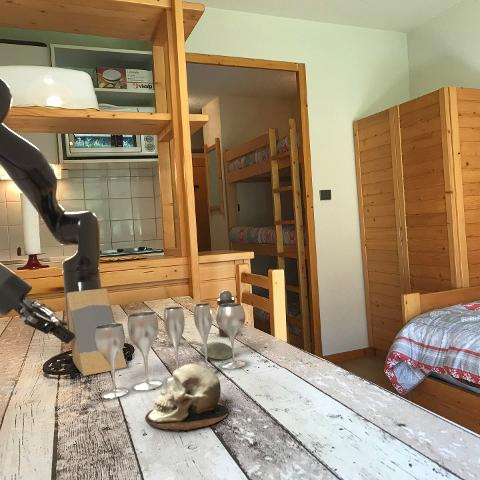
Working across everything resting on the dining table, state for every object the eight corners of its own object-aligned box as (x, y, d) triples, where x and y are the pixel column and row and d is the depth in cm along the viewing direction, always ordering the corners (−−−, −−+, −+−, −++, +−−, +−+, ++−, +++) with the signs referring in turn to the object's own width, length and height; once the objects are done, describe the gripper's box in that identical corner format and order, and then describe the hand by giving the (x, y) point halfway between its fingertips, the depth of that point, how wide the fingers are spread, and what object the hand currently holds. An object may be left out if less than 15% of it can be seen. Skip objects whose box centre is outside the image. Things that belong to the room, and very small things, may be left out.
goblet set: (104, 402, 86) (98, 323, 85) (96, 393, 90) (90, 318, 90) (253, 365, 102) (249, 298, 101) (240, 359, 107) (236, 295, 106)
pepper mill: (217, 334, 131) (214, 290, 130) (235, 331, 132) (232, 288, 132) (221, 337, 127) (217, 292, 126) (238, 335, 128) (235, 290, 128)
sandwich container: (82, 376, 101) (76, 300, 100) (71, 360, 114) (65, 292, 113) (128, 367, 105) (122, 294, 105) (112, 352, 118) (107, 287, 117)
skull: (151, 436, 68) (139, 367, 74) (150, 463, 75) (138, 398, 81) (239, 413, 73) (221, 350, 79) (229, 440, 81) (214, 381, 86)
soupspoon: (213, 366, 105) (239, 359, 110) (213, 349, 105) (239, 344, 109) (160, 346, 120) (185, 341, 125) (160, 332, 120) (185, 327, 125)
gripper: (6, 275, 97) (82, 331, 102) (19, 269, 109) (86, 320, 114) (-25, 306, 95) (54, 362, 100) (-8, 297, 108) (62, 347, 113)
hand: (71, 339), depth 107 cm, fingers closed
